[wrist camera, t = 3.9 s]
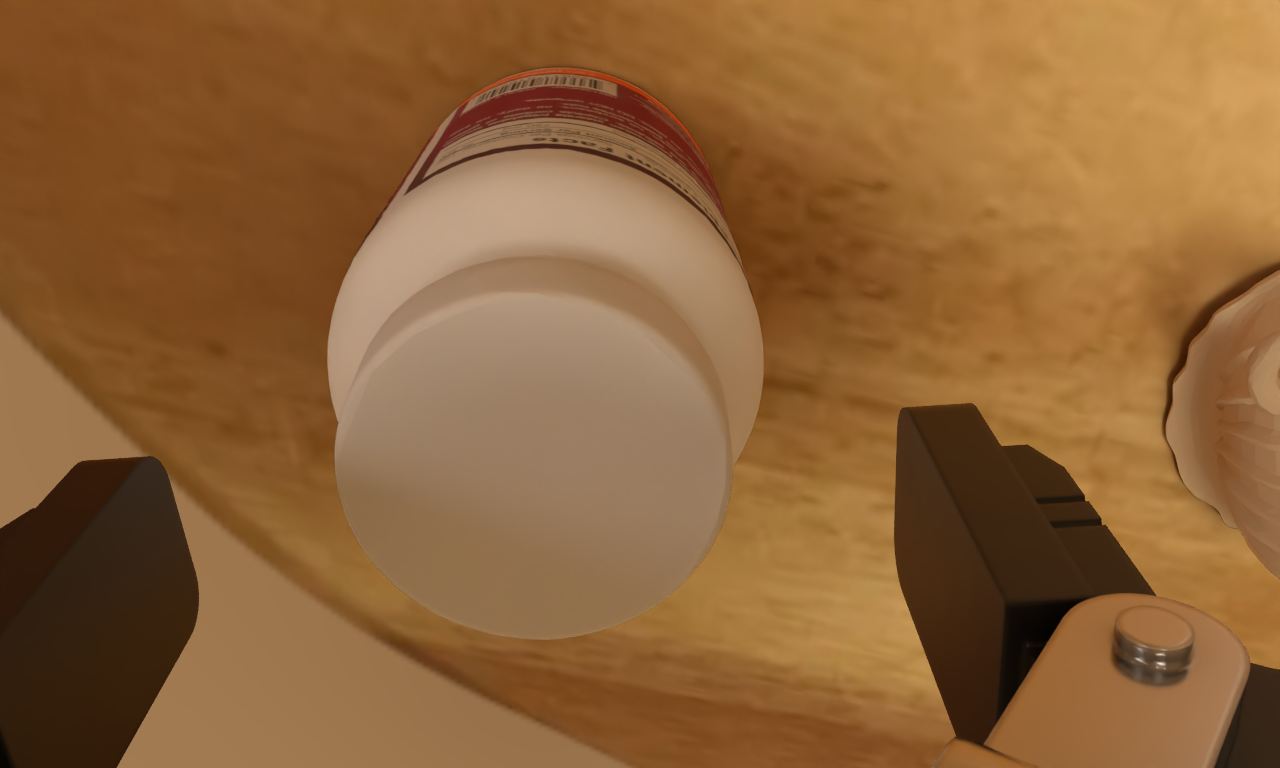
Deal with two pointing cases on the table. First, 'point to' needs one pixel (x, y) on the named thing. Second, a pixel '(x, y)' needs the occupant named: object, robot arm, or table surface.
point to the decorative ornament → (1235, 417)
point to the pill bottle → (545, 362)
